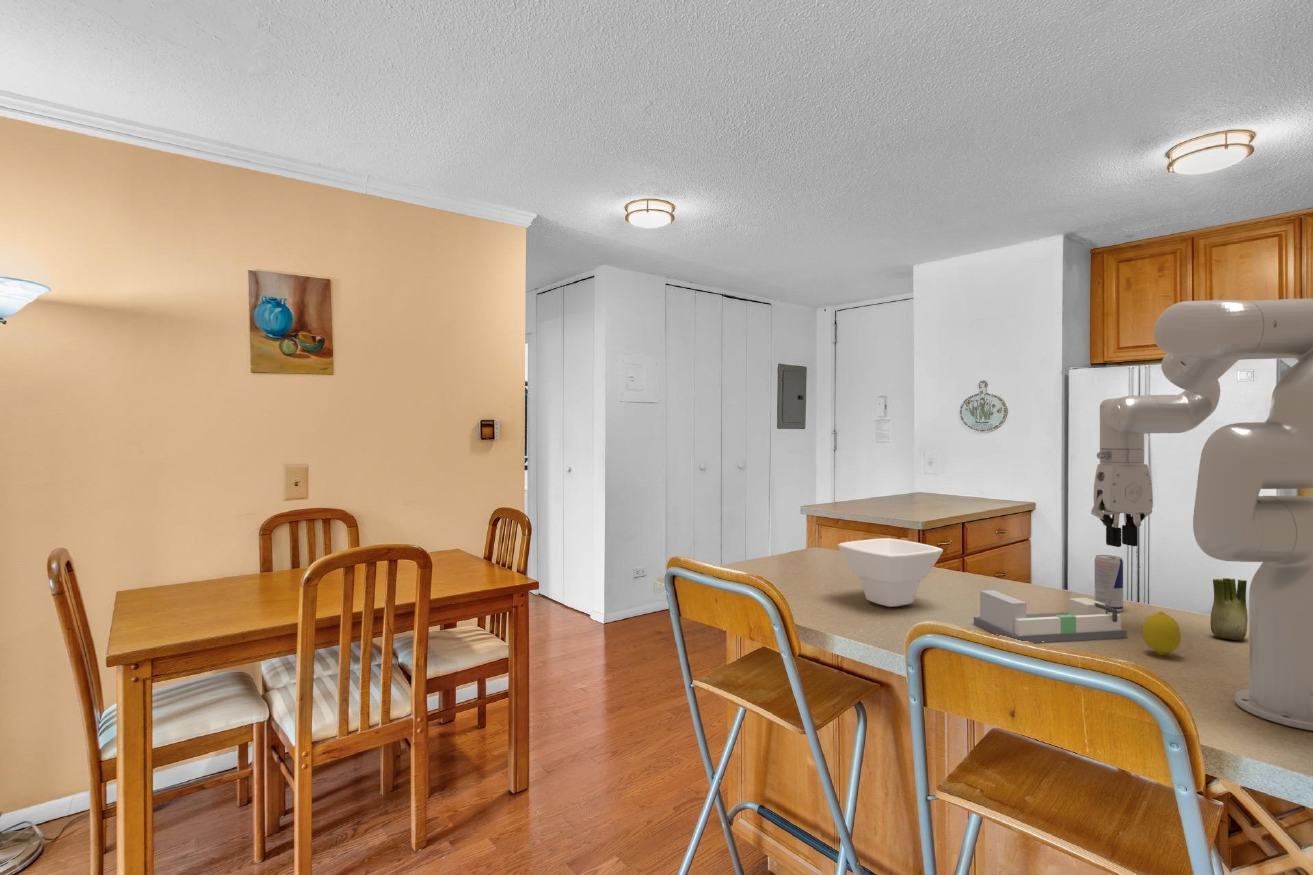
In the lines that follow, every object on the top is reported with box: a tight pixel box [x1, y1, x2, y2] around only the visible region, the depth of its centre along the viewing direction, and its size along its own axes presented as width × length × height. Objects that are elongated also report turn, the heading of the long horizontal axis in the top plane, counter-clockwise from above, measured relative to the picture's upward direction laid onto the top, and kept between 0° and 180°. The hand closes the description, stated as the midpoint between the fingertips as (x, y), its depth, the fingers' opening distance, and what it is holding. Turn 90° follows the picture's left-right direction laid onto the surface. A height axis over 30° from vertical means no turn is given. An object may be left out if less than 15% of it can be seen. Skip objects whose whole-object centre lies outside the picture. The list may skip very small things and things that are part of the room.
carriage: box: [1068, 597, 1118, 622], centre depth 131 cm, size 10×5×4 cm, turn 7°
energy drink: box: [1094, 554, 1124, 613], centre depth 147 cm, size 5×5×12 cm
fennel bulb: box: [1210, 577, 1249, 641], centre depth 126 cm, size 6×5×12 cm
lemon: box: [1141, 611, 1182, 656], centre depth 117 cm, size 6×6×8 cm
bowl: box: [837, 537, 944, 608], centre depth 153 cm, size 19×19×14 cm
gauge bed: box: [973, 589, 1128, 644], centre depth 132 cm, size 13×24×8 cm, turn 97°
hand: (1121, 544), depth 134 cm, fingers open, 3 cm apart
